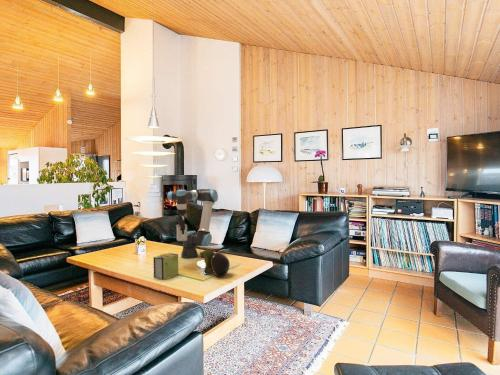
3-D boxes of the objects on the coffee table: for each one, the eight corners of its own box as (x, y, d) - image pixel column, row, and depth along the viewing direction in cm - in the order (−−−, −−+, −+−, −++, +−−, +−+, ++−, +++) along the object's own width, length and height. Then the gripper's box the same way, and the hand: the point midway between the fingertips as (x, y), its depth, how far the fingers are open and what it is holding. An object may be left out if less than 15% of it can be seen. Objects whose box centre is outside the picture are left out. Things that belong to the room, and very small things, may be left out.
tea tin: (185, 238, 254) (185, 224, 254) (187, 240, 247) (187, 225, 247) (176, 239, 251) (176, 224, 251) (178, 241, 244) (177, 226, 244)
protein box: (178, 274, 235) (178, 254, 234) (163, 280, 222) (163, 258, 221) (168, 272, 240) (168, 252, 240) (153, 277, 227) (153, 256, 226)
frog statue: (217, 285, 224) (192, 270, 236) (230, 278, 237) (205, 264, 249) (222, 262, 220) (196, 248, 232) (235, 256, 233) (209, 243, 245)
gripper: (174, 208, 256) (175, 235, 257) (179, 210, 238) (179, 240, 239) (183, 207, 259) (184, 234, 260) (188, 210, 241) (189, 239, 242)
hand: (181, 237), depth 249 cm, fingers closed on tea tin, 7 cm apart
